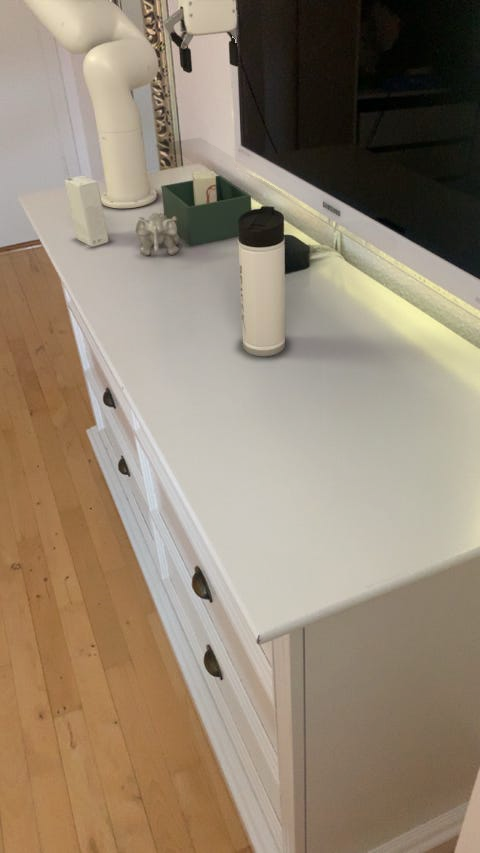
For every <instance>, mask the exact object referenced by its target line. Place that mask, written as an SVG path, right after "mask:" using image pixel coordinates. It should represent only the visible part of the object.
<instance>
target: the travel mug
mask: <svg viewBox="0 0 480 853" xmlns="http://www.w3.org/2000/svg"><path fill="white" fill-rule="evenodd" d="M284 232H285V215H284V214H283V213H282V212H281V211H279V210H277V209H275V206H268V205H261V206H260V208H254V209H251V210H250V211H247V212H245V213H243V214H242V215H241V216H240V217H239V219H238V233H239V236H237V237H238V238H237V239H238V240H237V243H238V265H239V287H240V289H239V290H240V308H241V309H240V310H241V311H240V312H241V329H242V331H241V332H242V347H243V350H244V351H245V352H246V353H247V354H250V355H251V356H254V357H271V356H275V355H278V354H279V353H282V352H283V350H284V349H285V347H286V279H285V278H286V268H285V267H286V263H285V261H286V260H285V258H286V255H285V253H286V252H285V250H286V245H285V242H286V240H285V239H286V238H285V233H284Z"/></svg>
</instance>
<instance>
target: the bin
mask: <svg viewBox="0 0 480 853" xmlns="http://www.w3.org/2000/svg"><path fill="white" fill-rule="evenodd" d="M215 176H216V191H217V201H216V202H211V203H206V204H201V205H196V206H195V202H194V188H193V179H191V180H187V181H180V182H175V183H170V184H164V185H161V186H160V188H161V198H162V206H163V214H164V216H167V219H172V218H173V217H174V216H176V217H177V219H178V222H177V223H175V224H176V226H177V233H178V235H179V237H180V238H182V239H183V240H184V241H185V242H186V243H187V244H188V245H189V246H190V247H194V246H198V245H202V244H207V243H212V242H216V241H222V240H225V239H226V240H227V239H231V238H236V237H238V236H239V233H238V219H239V217H240V216H241V215H242V214H243V213H245V212H247V211H250V210H252V196H251V194H249V193H247V192H246V191H244V190H243V189H241V188H240V187H239V186H237V185H235V184H234V183H233V182H231V181H230V180H228V179H227V178H225V177H224V176H222V175H219V174H218V175H215Z"/></svg>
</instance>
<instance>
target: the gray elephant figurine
mask: <svg viewBox="0 0 480 853" xmlns="http://www.w3.org/2000/svg"><path fill="white" fill-rule="evenodd" d="M148 217H149V218H148V220H147V219H145V218H144V217H143V216H140V217H138V222H137V223H136V225H135V233H136V235H137V236H138V237H139V242H140V245H141V247H140V249H139V253H140V254H142V255H143V256H150V255H151V252H152V251H151V249H152V247H153V251H154V254H156V255H157V254H158V253H159V252H160V249H159V244H162V243H163V245H164V246H165V247H166V250H167V254H168V255H170V256H174V255H176V254H177V253H178V252H179V247H178V245H179V244H180V242H181V236H180V235H179V234H178V233H177V226H176V224H175V223H177V222H178V219H177V217H176V216H174V217H173V218H172V219H167V216H164V212H158V213H157V212H153V213H152V214H151V215H150V216H148Z"/></svg>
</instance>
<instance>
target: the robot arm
mask: <svg viewBox="0 0 480 853" xmlns="http://www.w3.org/2000/svg"><path fill="white" fill-rule="evenodd" d="M19 1H20V2H21V3H23V5H24V6H25V7H26V8H27V9H29V11H30V12H31V13H32V14H33V15H34V17H36V19H37V20H38V21H39V23H41V24H42V25H43V27H44V28H45V29H46V30H47V31H48V32H49V34H50V35H52V37H53V38H54V39H55V40H56V41H57V42H58V43H59V44H60V46H62V48H64V50H66V51H67V52H69V53H70V54H73V55H84V54H85V57H84V59H83V64H82V72H83V74H82V75H83V78H84V82H85V84H86V85H85V86H86V88H87V92H88V93H89V96H90V100H91V104H92V108H93V113H94V119H95V124H96V125H95V126H96V131H97V137H98V143H99V150H100V157H101V163H102V169H103V170H102V171H103V176H104V182H105V183H104V184H105V188H106V191H105V192H103V194H101V195H100V197H101V203H102V205H104V206H105V207H108V208H111V209H133V208H135V209H136V208H140V207H145V206H147V205H150V204H152V203H153V202H155V201H156V200H157V198H158V195H157V194H158V193H157V191H156V190H155V189H154V188H153V187H150V185H149V184H150V183H149V177H148V167H147V159H146V151H145V143H144V142H145V141H144V135H143V127H142V119H141V114H140V110H139V106H138V105H137V103H136V101H135V100H134V97H133V95H132V92H131V91H134V90H136V89H139V88H143V87H145V86H147V85H149V84H150V83H152V82H153V81H155V78H156V77H157V75H158V72H159V65H160V64H159V58H158V55H157V52H156V50H155V48H154V46H153V45H152V43H151V42H150V41H149V40H148V37H146V36H145V35H144V34H143V33H142V31H141V30H140V29H139V28H138V27H137V25H135V23H134V22H132V20H131V19H130V17H128V16H127V14H126V13H125V12H124V11H123V10H122V9H121V7H119V6H118V5H117V4H115V3H114V2H113V1H111V0H19ZM236 5H237V2H236V0H177V10H176V11H175V12H174V13H172V15H170V16H169V17H167V18H166V19H165V20H164V21H163V22H162V26H163V28H164V30H165V32H166V34H167V36H168V38H169V39H170V40H171V41H172V42H173V43H174V44H175V45H176V47H178V52H179V53H178V54H179V64H180V68H182V70H183V72H186V73H187V74H191V73H193V61H192V50H191V48H189V45H190V43H191V41H192V39H193V38H194V37H198V36H207V35H218V34H224V33H226V34H227V35H228V37H229V38H230V40H229V41H228V55H229V56H228V57H229V58H228V59H229V65H231V66H233V67H239V66H240V65H239V64H238V63H240V61H239V60H238V47H237V43H235V39H236V29H237V26H238V15H237V10H236ZM176 24H178V28H179V31H180V32H181V33H180V34H178V33H177V32H176V30H175V25H176ZM232 36H233V37H234V38H235V39H234V38H232ZM238 65H239V66H238Z"/></svg>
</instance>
